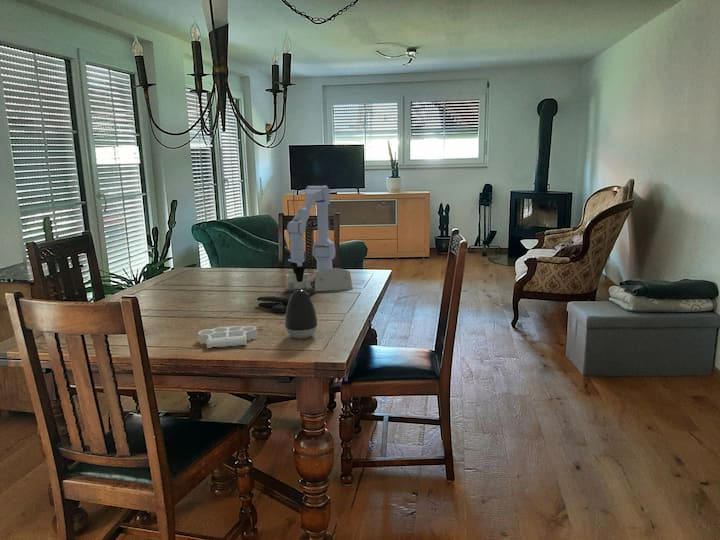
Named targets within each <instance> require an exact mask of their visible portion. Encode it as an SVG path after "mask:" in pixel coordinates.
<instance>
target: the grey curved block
mask: <svg viewBox="0 0 720 540" xmlns="http://www.w3.org/2000/svg"><path fill="white" fill-rule="evenodd" d="M351 276H352V275H351V272H350V270H349V269H344V268H338V267H332V268H329V269H324V270H321V271H318V272H317V271H316V272H315V274H314V286H313V287H314V288H313V290H314V291H316V292H325V291H328V290H329V291H343V290H342V289H348V290H353V280H352V277H351Z"/></svg>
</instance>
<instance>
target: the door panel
mask: <svg viewBox="0 0 720 540" xmlns="http://www.w3.org/2000/svg"><path fill="white" fill-rule="evenodd" d="M285 275H286V287H287V289H289V282H294V289H297V288H305V281H310V287H311V286H312V284H311V273H310V272H304V274H303V281H302V282H297V279H296V274H294V273H288V274H285Z"/></svg>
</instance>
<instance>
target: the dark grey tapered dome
mask: <svg viewBox="0 0 720 540" xmlns="http://www.w3.org/2000/svg"><path fill="white" fill-rule="evenodd" d="M316 294H317V291H315V290H313V291H309V292H308V291H304V290H296V291H294V292H292V293H291V296H290V298H289V302H288V306H287V310H286V311H285V319H284V326H285V328H286V331H287V333H288V334H289V336H290V337H292V338H294V339H296V338H297V340H303V339H308V338H310V337H312V336H313V335H314V334H315V332H316V330H317V326H318V317H317V313H316V308H315V306H314V303H313V300H312V298H311V297H313V296H314V295H315V296H316Z"/></svg>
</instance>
